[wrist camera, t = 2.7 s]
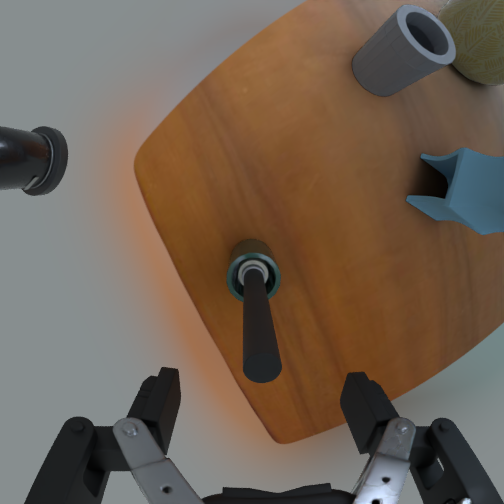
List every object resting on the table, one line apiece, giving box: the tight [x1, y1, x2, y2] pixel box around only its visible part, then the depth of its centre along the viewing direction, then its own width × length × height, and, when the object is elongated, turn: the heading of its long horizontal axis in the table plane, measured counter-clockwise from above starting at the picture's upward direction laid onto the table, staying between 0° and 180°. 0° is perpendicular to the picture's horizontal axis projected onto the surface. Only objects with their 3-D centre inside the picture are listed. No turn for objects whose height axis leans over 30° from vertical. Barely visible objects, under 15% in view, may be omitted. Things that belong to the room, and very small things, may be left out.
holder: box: [227, 239, 281, 302], centre depth 32 cm, size 5×5×8 cm
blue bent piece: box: [406, 148, 504, 235], centre depth 25 cm, size 8×8×20 cm
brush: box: [238, 258, 282, 383], centre depth 25 cm, size 3×3×22 cm
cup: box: [352, 4, 456, 96], centre depth 24 cm, size 8×8×14 cm
